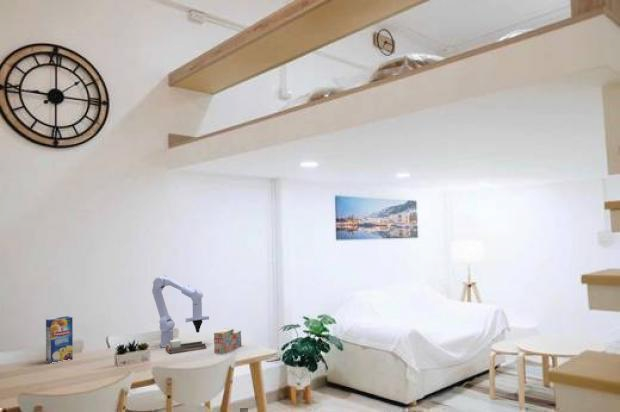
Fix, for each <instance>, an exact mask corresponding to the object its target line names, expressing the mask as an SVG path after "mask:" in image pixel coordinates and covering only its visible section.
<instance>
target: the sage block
mask: <svg viewBox="0 0 620 412" xmlns="http://www.w3.org/2000/svg"><path fill="white" fill-rule="evenodd" d="M180 344H181V339H173V340H170V346H171V348H176V347H180Z"/></svg>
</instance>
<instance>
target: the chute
mask: <svg viewBox="0 0 620 412" xmlns="http://www.w3.org/2000/svg"><path fill="white" fill-rule="evenodd" d="M164 348H165V351H166V353H168V354H169V355H174V354H180V353H186V352H188V353H189V352H193V351H194V352H195V351H200V350H201V351H202V350H207V346H206V342H205V343H203V341H202V340H200V341H194V342H187V343H180V347H176V348H171V346H170V345H169V344H166V347H164Z"/></svg>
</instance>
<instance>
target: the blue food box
mask: <svg viewBox="0 0 620 412" xmlns="http://www.w3.org/2000/svg"><path fill="white" fill-rule="evenodd" d="M73 332H74V331H73V317H72V316H68V315H66V316H61V317H60V316H59V317H51V318H45V362H46V361H48V362H50V363H52V362H57V363H59V362H58V361H62V362H64V361H63V360H67V361H69V360H68V359H72V360H74V359H73V357H74V356H73V355H74V354H73V351H74V349H73V348H74V347H73V345H74V344H73V340H74V339H73V337H74V336H73V334H74V333H73ZM48 362H47V363H48ZM50 363H49V364H50Z"/></svg>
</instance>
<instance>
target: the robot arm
mask: <svg viewBox="0 0 620 412" xmlns="http://www.w3.org/2000/svg"><path fill="white" fill-rule="evenodd" d="M169 286H170V287H173V288H175V289H176V290H179V291H180V292H181V294H183V295H184V296H186V297H188V298H190V300H191V302H192V317H189V318H185V322H186V323H190V322H192V324H193V326H194V328H195V333H197V334H198V333H200V331H201V330H200V329H201V326H202V324H203V321H205V320H210V316H209V315H205V316H203V309H202V308H203V306H202V305H203V303H202V301H203V300H202V299H203V297H204V294H203V292H202V291H201V290H197V289H196V288H195V289H194V288H192V287H191V285H187V284H186V285H183V284H182V283H179V282H178V281H176V280H175V279H173V278H171V277H169V276H167V275H161V276H157V277H155V278H154V279H153V282H152V290H151V291H152V295H153V299H154V303H155V305H156V308H157V312H158V314H159V315H158V316H159V317H160V318H159V329H160V331H161V333H160V343H159V344H158V345H159V346H160V347H161V348H166V344H169V345H170V340H174V327H175V321H174V320H173V319H172V316H170V315H169V311H168V307H167V305H166V302H165V299H164V295H163V290H164V289H165V287H169Z"/></svg>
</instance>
